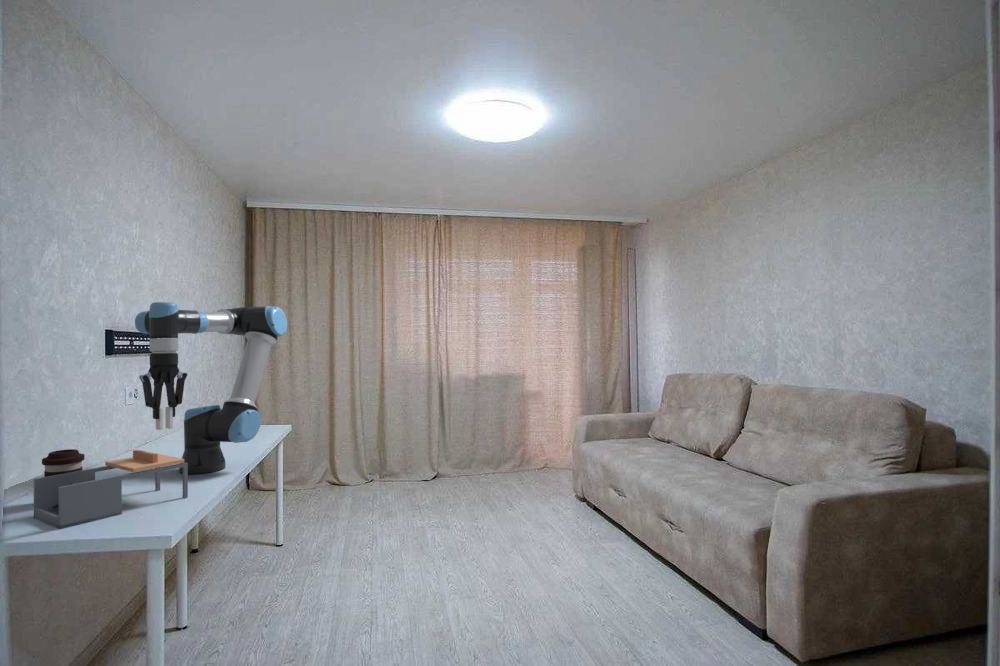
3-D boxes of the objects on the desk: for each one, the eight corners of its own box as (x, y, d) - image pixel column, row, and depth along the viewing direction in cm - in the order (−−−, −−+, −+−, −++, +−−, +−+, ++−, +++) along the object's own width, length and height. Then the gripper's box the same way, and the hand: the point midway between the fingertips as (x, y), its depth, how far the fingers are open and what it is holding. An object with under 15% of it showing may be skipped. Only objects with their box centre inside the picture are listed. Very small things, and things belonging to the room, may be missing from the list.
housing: (158, 489, 176) (158, 456, 176) (187, 497, 167) (187, 462, 167) (33, 517, 149) (33, 479, 149) (60, 529, 140) (60, 487, 140)
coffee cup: (42, 501, 164) (42, 450, 164) (84, 495, 170) (84, 446, 170) (40, 509, 156) (40, 456, 156) (84, 502, 162) (84, 451, 162)
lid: (155, 456, 175) (155, 445, 175) (184, 462, 166) (184, 450, 166) (105, 465, 163) (105, 453, 163) (133, 472, 154) (133, 459, 154)
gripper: (182, 351, 178) (182, 424, 178) (130, 353, 165) (131, 431, 165) (195, 351, 174) (195, 426, 174) (143, 353, 161) (143, 433, 161)
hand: (164, 428), depth 169 cm, fingers open, 2 cm apart
